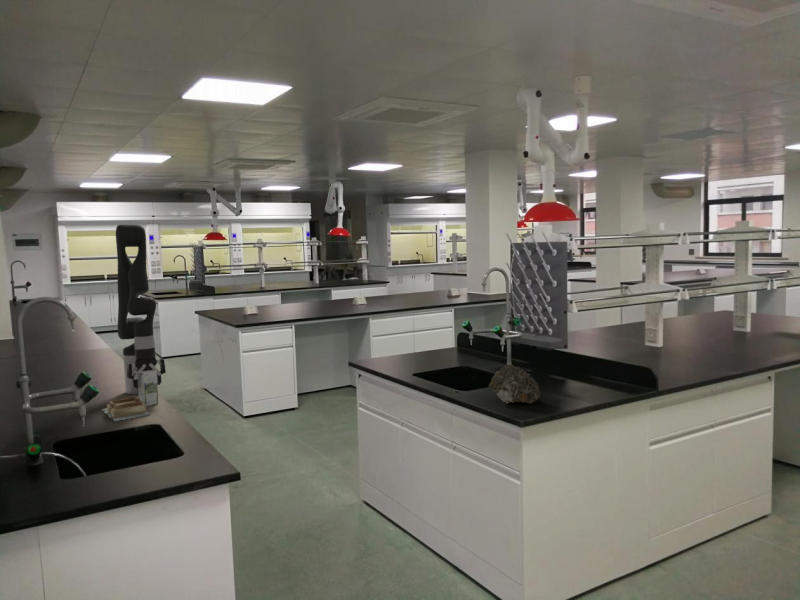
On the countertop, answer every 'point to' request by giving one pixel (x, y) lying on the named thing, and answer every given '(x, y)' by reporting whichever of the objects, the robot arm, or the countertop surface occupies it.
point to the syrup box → (148, 387)
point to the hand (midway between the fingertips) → (147, 386)
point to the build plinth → (125, 409)
